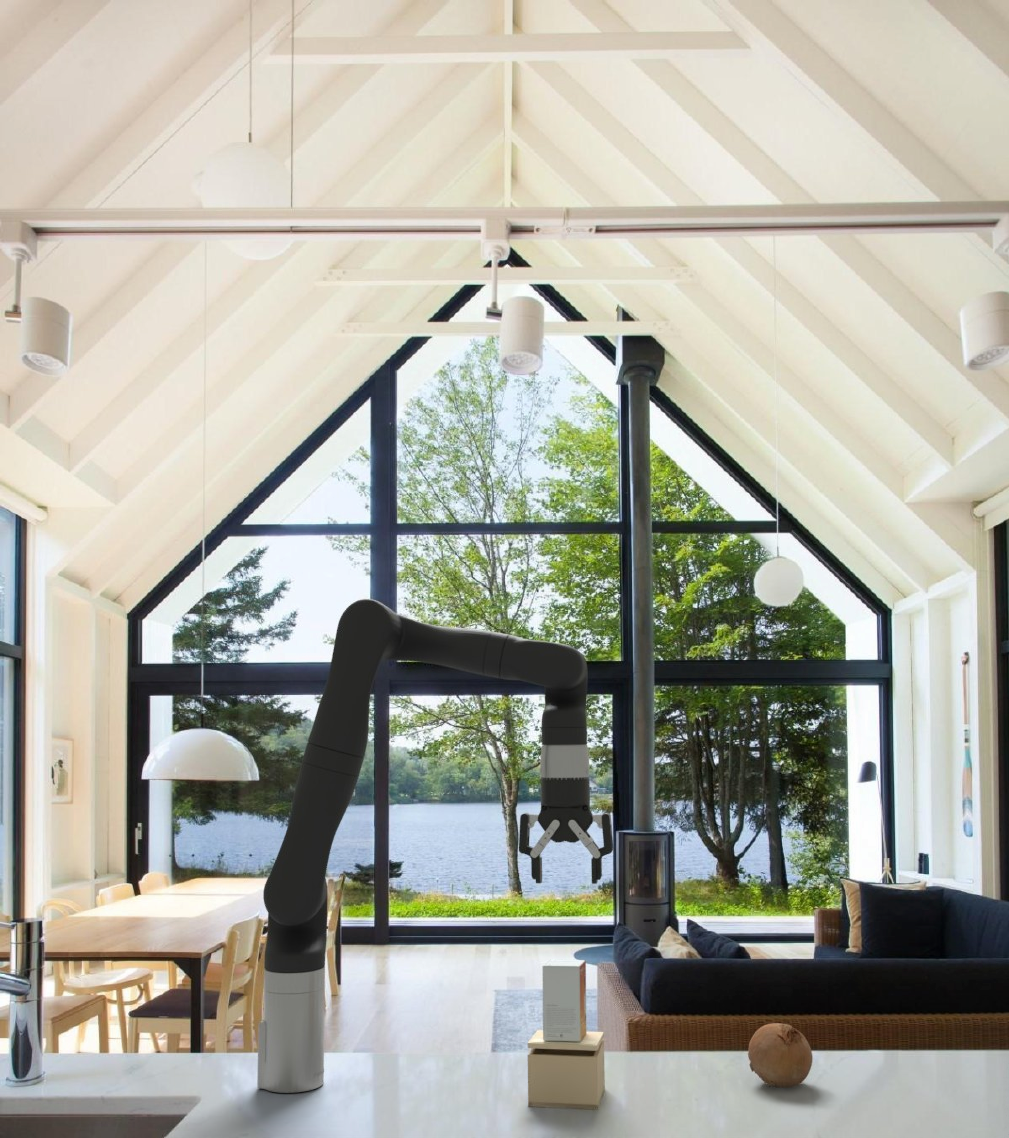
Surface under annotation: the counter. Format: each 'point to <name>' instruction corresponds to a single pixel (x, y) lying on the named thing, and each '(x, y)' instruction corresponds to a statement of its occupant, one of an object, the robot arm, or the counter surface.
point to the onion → (780, 1055)
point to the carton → (566, 1078)
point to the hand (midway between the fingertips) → (566, 883)
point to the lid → (568, 1042)
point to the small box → (564, 1000)
